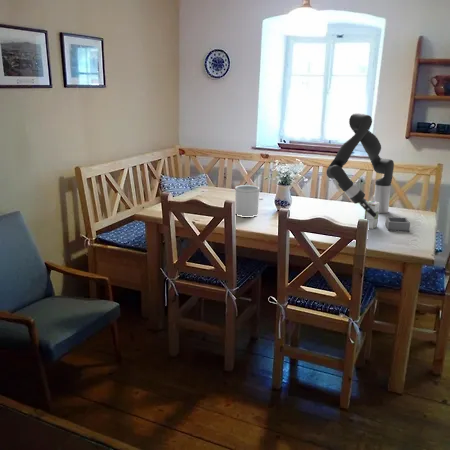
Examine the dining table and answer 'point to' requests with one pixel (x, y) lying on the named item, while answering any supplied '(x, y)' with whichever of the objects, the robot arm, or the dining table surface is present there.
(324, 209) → the dining table surface
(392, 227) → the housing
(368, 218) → the syrup box
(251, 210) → the utensil holder
